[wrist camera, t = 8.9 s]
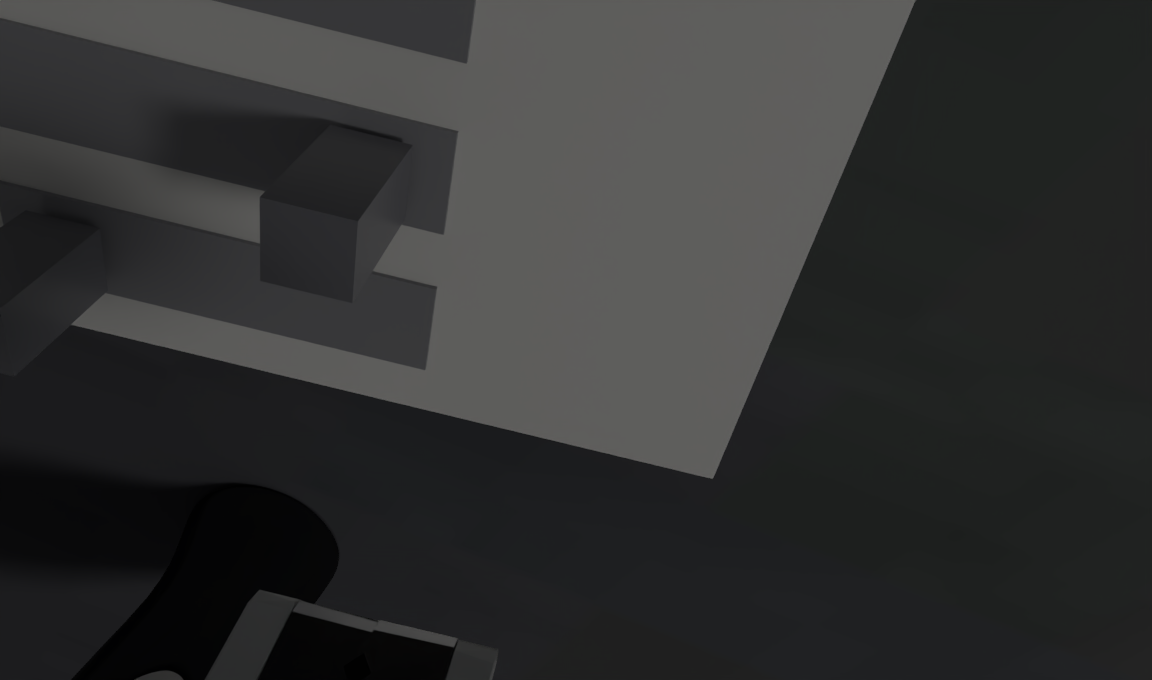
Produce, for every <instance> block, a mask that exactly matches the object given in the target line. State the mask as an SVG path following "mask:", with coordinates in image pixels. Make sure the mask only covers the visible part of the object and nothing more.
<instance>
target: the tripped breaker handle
mask: <svg viewBox="0 0 1152 680" xmlns="http://www.w3.org/2000/svg"><path fill="white" fill-rule="evenodd" d="M412 150H413V145H411V144H407V143H403V142H398V141H394V140H390V139H386V138H382V137H378V136H374V135H370V134H366V133H362V132H358V131H354V130H350V129H346V128H342V127H338V126H334V125H330V126H329V127H328V128H327V129H326V130H325V131H324V132H323V133H322V134H321V135H320V136H319V137H318V138H317V139H316V140H315V141H314V142H313V143H312V144H311V145H310V146H309V147H308V148H307V149H306V150H305V151H304V152H303V153H302V154H301V155H300V156H299V157H298V158H297V159H296V160H295V162H294V163H293V164H292V165H291V166H290V167H289V168H288V169H287V170H286V171H285V172H284V173H283V174H282V175H281V176H280V177H279V178H278V179H277V180H276V181H275V182H274V183H273V184H272V185H271V186H270V187H269V188H268V189H267V190H266V191H265V192H264V193H263V194H262V195H261V196H260V281H263V282H267V283H271V284H275V285H279V286H283V287H287V288H291V289H296V290H300V291H304V292H308V293H312V294H316V295H320V296H324V297H328V298H333V299H337V300H341V301H345V302H349V303H353V301H354V300H355V298H356V297H357V295H358V293H359V292H360V290H361V289H362V287H363V286H364V284H365V282H366V281H367V279H368V278H369V276H370V274H371V273H372V271H373V270H374V268H375V266H376V265H377V263H378V262H379V260H380V258H381V257H382V255H383V254H384V252H385V250H386V249H387V247H388V246H389V244H390V242H391V241H392V239H393V238H394V236H395V234H396V233H397V231H398V230H399V228H400V226H401V225H402V223H403V222H404V220H405V217H406V208H407V198H408V188H409V179H410V169H411V160H412Z"/></svg>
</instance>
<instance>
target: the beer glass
mask: <svg viewBox="0 0 1152 680" xmlns="http://www.w3.org/2000/svg"><path fill="white" fill-rule="evenodd" d="M338 562H339V550H338V546H337V543H336V540H335V538H334V536H333V534H332V533H331V531H330V530H329V528H328V527H327V526H326V524H325V523H324V522H323V521H322V520H321V519H320V518H319V517H318V516H317V515H316V514H315V513H314V512H312V511H311V510H310V509H308V508H307V507H306V506H304V505H302V504H301V503H299V502H297V501H296V500H294V499H292V498H290V497H287V496H285V495H283V494H280V493H277V492H274V491H271V490H267V489H263V488H257V487H248V486H236V487H227V488H222V489H219V490H216V491H213V492H211V493H209V494H208V495H206V496H205V497H203V498H202V499H201V500H200V501H199V502H198V503H197V504H196V506H195V507H194V509H193V510H192V512H191V514H190V516H189V518H188V520H187V523H186V525H185V528H184V530H183V533H182V535H181V538H180V541H179V543H178V546H177V548H176V551H175V553H174V555H173V557H172V560H171V562H170V564H169V566H168V567H167V569H166V571H165V572H164V574H163V576H162V577H161V579H160V581H159V582H158V583H157V585H156V586H155V587H154V589H153V590H152V591H151V593H150V594H149V595H148V597H147V598H146V599H145V600H144V601H143V603H142V604H141V605H140V606H139V607H138V608H137V609H136V610H135V612H134V613H133V614H132V615H131V616H130V617H129V618H128V619H127V620H126V622H125V623H124V624H123V625H122V626H121V627H120V628H119V629H118V630H117V631H116V632H115V633H114V634H113V635H112V636H111V637H110V638H109V639H108V641H107V642H106V643H105V644H104V645H103V646H102V647H101V648H100V649H99V650H98V651H97V652H96V653H95V654H94V655H93V656H92V658H91V659H90V660H89V661H88V662H87V663H86V664H85V665H84V666H83V667H82V668H81V669H80V670H79V672H78V673H77V674H76V675H75V676H74V677H73V678H72V679H71V680H205V678H206V677H207V675H208V673H209V671H210V669H211V668H212V666H213V664H214V662H215V661H216V659H217V657H218V655H219V653H220V652H221V650H222V648H223V646H224V644H225V643H226V641H227V639H228V637H229V636H230V634H231V632H232V630H233V628H234V627H235V625H236V623H237V621H238V619H239V618H240V616H241V614H242V612H243V610H244V609H245V607H246V605H247V603H248V602H249V601H250V600H251V598H252V597H253V596H254V595H255V594H256V593H257V592H258V591H259V590H263V591H267V592H271V593H275V594H279V595H283V596H287V597H291V598H295V599H299V600H302V601H304V602H308V603H312V604H315V603H316V601H317V600H318V598H319V597H320V596H321V594H322V593H323V591H324V590H325V589H326V587H327V586H328V584H329V583H330V581H331V580H332V578H333V576H334V574H335V572H336V570H337V567H338Z"/></svg>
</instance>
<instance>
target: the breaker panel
mask: <svg viewBox="0 0 1152 680" xmlns="http://www.w3.org/2000/svg"><path fill="white" fill-rule="evenodd" d="M914 2H915V0H0V373H2V374H6V375H10V376H16V375H17V374H18V373H19V372H20V371H21V370H22V369H23V368H24V367H25V366H26V365H27V364H29V363H30V362H31V361H32V360H33V359H34V358H35V357H36V356H37V355H38V354H39V353H41V352H42V351H43V350H44V349H45V348H46V347H47V346H48V345H49V344H50V343H51V342H53V341H54V340H55V339H56V338H57V337H58V336H59V335H60V334H61V333H62V332H63V331H64V330H66V329H67V328H68V327H69V326H70V325H75V326H79V327H84V328H88V329H92V330H96V331H100V332H104V333H109V334H113V335H117V336H121V337H125V338H129V339H134V340H138V341H142V342H146V343H150V344H154V345H158V346H163V347H167V348H171V349H175V350H179V351H183V352H188V353H192V354H196V355H200V356H204V357H208V358H212V359H217V360H221V361H225V362H229V363H233V364H237V365H242V366H246V367H250V368H254V369H258V370H262V371H267V372H271V373H275V374H279V375H283V376H287V377H291V378H296V379H300V380H304V381H308V382H312V383H316V384H321V385H325V386H329V387H333V388H337V389H341V390H346V391H350V392H354V393H358V394H362V395H366V396H370V397H375V398H379V399H383V400H387V401H391V402H395V403H400V404H404V405H408V406H412V407H416V408H420V409H424V410H429V411H433V412H437V413H441V414H445V415H449V416H454V417H458V418H462V419H466V420H470V421H474V422H479V423H483V424H487V425H491V426H495V427H499V428H503V429H508V430H512V431H516V432H520V433H524V434H528V435H533V436H537V437H541V438H545V439H549V440H553V441H558V442H562V443H566V444H570V445H574V446H578V447H582V448H587V449H591V450H595V451H599V452H603V453H607V454H612V455H616V456H620V457H624V458H628V459H632V460H636V461H641V462H645V463H649V464H653V465H657V466H661V467H666V468H670V469H674V470H678V471H682V472H686V473H691V474H695V475H699V476H703V477H707V478H711V479H713V477H714V475H715V472H716V470H717V468H718V465H719V463H720V460H721V458H722V456H723V453H724V451H725V449H726V446H727V444H728V442H729V439H730V437H731V435H732V432H733V430H734V427H735V425H736V423H737V420H738V418H739V416H740V413H741V411H742V409H743V406H744V404H745V401H746V399H747V397H748V394H749V392H750V390H751V387H752V385H753V383H754V380H755V378H756V375H757V373H758V371H759V368H760V366H761V364H762V361H763V359H764V357H765V354H766V352H767V350H768V347H769V345H770V342H771V340H772V338H773V335H774V333H775V331H776V328H777V326H778V324H779V321H780V319H781V316H782V314H783V312H784V309H785V307H786V305H787V302H788V300H789V298H790V295H791V293H792V290H793V288H794V286H795V283H796V281H797V279H798V276H799V274H800V272H801V269H802V267H803V265H804V262H805V260H806V257H807V255H808V253H809V250H810V248H811V246H812V243H813V241H814V239H815V236H816V234H817V231H818V229H819V227H820V224H821V222H822V220H823V217H824V215H825V213H826V210H827V208H828V205H829V203H830V201H831V198H832V196H833V194H834V191H835V189H836V187H837V184H838V182H839V180H840V177H841V175H842V172H843V170H844V168H845V165H846V163H847V161H848V158H849V156H850V154H851V151H852V149H853V146H854V144H855V142H856V139H857V137H858V135H859V132H860V130H861V128H862V125H863V123H864V120H865V118H866V116H867V113H868V111H869V109H870V106H871V104H872V102H873V99H874V97H875V95H876V92H877V90H878V87H879V85H880V83H881V80H882V78H883V76H884V73H885V71H886V69H887V66H888V64H889V61H890V59H891V57H892V54H893V52H894V50H895V47H896V45H897V43H898V40H899V38H900V35H901V33H902V31H903V28H904V26H905V24H906V21H907V19H908V17H909V14H910V12H911V10H912V7H913V5H914ZM330 125H334V126H338V127H342V128H346V129H350V130H354V131H358V132H362V133H366V134H370V135H374V136H378V137H382V138H386V139H390V140H394V141H398V142H403V143H407V144H411V145H413V150H412V160H411V169H410V179H409V188H408V198H407V208H406V217H405V220H404V222H403V223H402V225H401V226H400V228H399V230H398V231H397V233H396V234H395V236H394V238H393V239H392V241H391V242H390V244H389V246H388V247H387V249H386V250H385V252H384V254H383V255H382V257H381V258H380V260H379V262H378V263H377V265H376V266H375V268H374V270H373V271H372V273H371V274H370V276H369V278H368V279H367V281H366V282H365V284H364V286H363V287H362V289H361V290H360V292H359V293H358V295H357V297H356V298H355V300H354V301H353V303H349V302H345V301H341V300H337V299H333V298H328V297H324V296H320V295H316V294H312V293H308V292H304V291H300V290H296V289H291V288H287V287H283V286H279V285H275V284H271V283H267V282H263V281H260V196H261V195H262V194H263V193H264V192H265V191H266V190H267V189H268V188H269V187H270V186H271V185H272V184H273V183H274V182H275V181H276V180H277V179H278V178H279V177H280V176H281V175H282V174H283V173H284V172H285V171H286V170H287V169H288V168H289V167H290V166H291V165H292V164H293V163H294V162H295V160H296V159H297V158H298V157H299V156H300V155H301V154H302V153H303V152H304V151H305V150H306V149H307V148H308V147H309V146H310V145H311V144H312V143H313V142H314V141H315V140H316V139H317V138H318V137H319V136H320V135H321V134H322V133H323V132H324V131H325V130H326V129H327V128H328V127H329V126H330Z"/></svg>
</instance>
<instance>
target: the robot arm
mask: <svg viewBox="0 0 1152 680" xmlns="http://www.w3.org/2000/svg"><path fill="white" fill-rule="evenodd" d="M457 640H458V638H454V637H449V636H445V635H441V634H437V633H432V632H428V631H424V630H419V629H415V628H411V627H407V626H402V625H398V624H394V623H389V622H385V621H381V620H379V621H378V620H374V619H370V618H366V617H362V616H358V615H354V614H351V613H347V612H343V611H339V610H335V609H331V608H327V607H323V606H320V605H316V604H312V603H308V602H304V601H302V600H299V599H295V598H291V597H287V596H283V595H279V594H275V593H271V592H267V591H263V590H259V591H258V592H257V593H256V594H255V595H254V596H253V597H252V598H251V600H250V601H249V602H248V603H247V605H246V607H245V609H244V610H243V612H242V614H241V616H240V618H239V619H238V621H237V623H236V625H235V627H234V628H233V630H232V632H231V634H230V636H229V637H228V639H227V641H226V643H225V644H224V646H223V648H222V650H221V652H220V653H219V655H218V657H217V659H216V661H215V662H214V664H213V666H212V668H211V669H210V671H209V673H208V675H207V677H206V678H205V680H492V677H493V673H494V669H495V665H496V661H497V655H498V649H495V648H491V647H487V646H482V645H478V644H474V643H470V642H465V641H461V640H460V641H458V643H457Z"/></svg>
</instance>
